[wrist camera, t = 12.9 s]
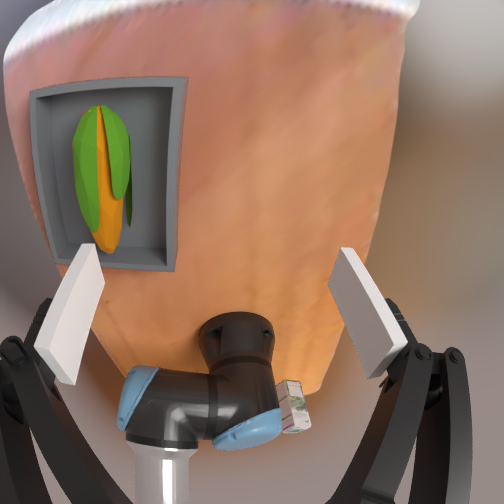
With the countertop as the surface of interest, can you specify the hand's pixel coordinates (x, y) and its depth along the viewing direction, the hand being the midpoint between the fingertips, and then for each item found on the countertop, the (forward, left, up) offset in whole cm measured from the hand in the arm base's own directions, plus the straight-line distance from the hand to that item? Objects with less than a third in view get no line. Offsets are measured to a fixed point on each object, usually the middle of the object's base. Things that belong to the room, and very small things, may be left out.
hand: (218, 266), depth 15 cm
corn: (-4, +13, -23) cm, 27 cm away
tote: (-4, +14, -24) cm, 28 cm away
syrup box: (-61, -24, -24) cm, 70 cm away
